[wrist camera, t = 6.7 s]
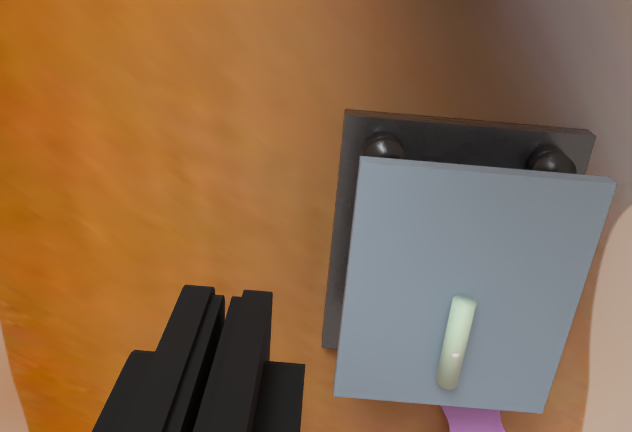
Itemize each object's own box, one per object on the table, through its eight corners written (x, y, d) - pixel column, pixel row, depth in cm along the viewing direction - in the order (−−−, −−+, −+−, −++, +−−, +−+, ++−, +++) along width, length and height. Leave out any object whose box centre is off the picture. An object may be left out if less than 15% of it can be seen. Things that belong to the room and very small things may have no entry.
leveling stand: (344, 109, 43) (345, 137, 37) (588, 129, 43) (627, 161, 37) (321, 336, 52) (320, 388, 47) (521, 353, 52) (544, 406, 47)
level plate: (359, 155, 37) (361, 172, 35) (609, 176, 37) (629, 194, 35) (333, 385, 45) (333, 412, 43) (537, 402, 46) (549, 430, 43)
